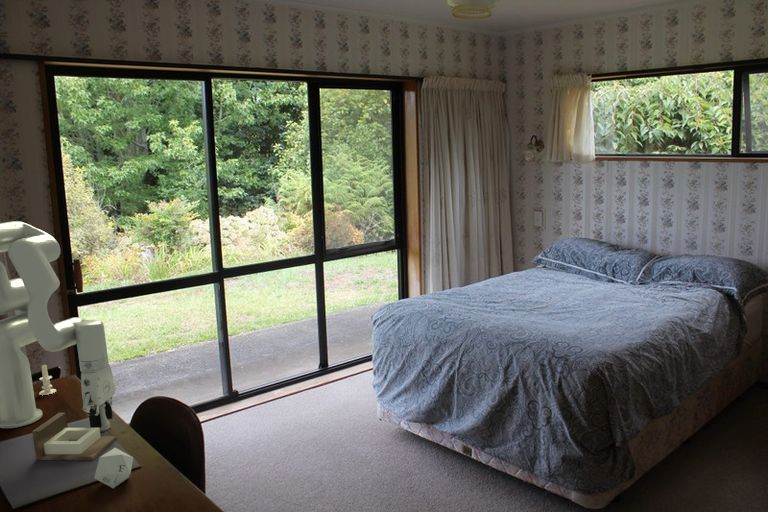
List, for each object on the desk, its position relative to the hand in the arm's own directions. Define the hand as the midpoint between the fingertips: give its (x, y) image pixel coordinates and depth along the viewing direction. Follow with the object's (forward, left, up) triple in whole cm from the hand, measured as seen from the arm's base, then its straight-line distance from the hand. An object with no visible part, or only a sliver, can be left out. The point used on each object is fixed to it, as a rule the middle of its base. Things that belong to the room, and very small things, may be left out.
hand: (101, 422), depth 191 cm
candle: (-35, +28, -2) cm, 45 cm away
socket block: (-1, -13, -1) cm, 13 cm away
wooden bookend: (0, -13, -2) cm, 13 cm away
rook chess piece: (0, 0, -2) cm, 2 cm away
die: (+20, -30, -2) cm, 36 cm away
